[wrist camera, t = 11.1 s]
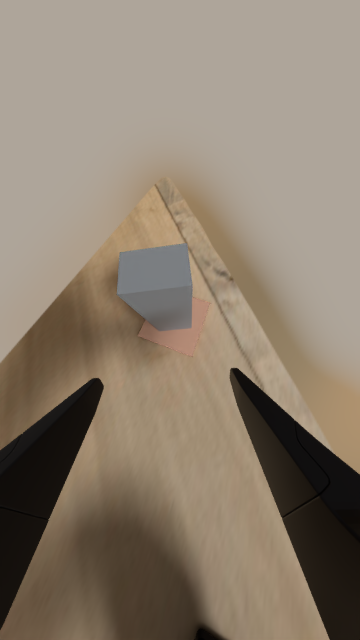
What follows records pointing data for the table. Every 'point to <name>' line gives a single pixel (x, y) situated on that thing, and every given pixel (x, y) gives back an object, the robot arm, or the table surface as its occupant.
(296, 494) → the robot arm
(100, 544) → the table surface
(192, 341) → the terracotta pad
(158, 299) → the grey rectangular pillar
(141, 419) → the table surface
